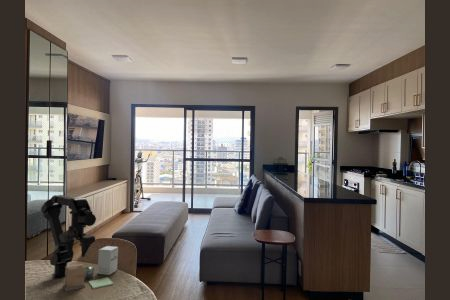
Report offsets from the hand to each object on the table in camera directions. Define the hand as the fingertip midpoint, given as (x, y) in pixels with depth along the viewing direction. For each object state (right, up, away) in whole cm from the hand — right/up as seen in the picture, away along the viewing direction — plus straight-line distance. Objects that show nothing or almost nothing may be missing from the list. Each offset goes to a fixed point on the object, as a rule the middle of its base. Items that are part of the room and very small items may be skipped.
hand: (76, 255), depth 145 cm
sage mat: (+13, -12, -3) cm, 18 cm away
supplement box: (+11, -13, +12) cm, 21 cm away
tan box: (+3, -12, -7) cm, 14 cm away
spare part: (+4, -13, +4) cm, 14 cm away
